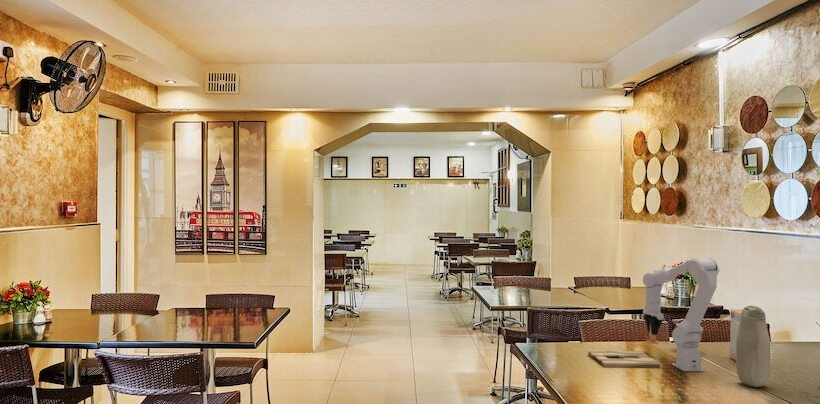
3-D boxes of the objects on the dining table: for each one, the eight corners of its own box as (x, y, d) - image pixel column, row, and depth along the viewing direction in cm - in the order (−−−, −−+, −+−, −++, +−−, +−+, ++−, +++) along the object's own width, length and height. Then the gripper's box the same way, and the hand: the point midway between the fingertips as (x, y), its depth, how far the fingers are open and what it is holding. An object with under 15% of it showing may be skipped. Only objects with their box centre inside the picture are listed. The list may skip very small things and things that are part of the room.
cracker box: (759, 368, 219) (759, 315, 219) (742, 367, 220) (742, 314, 220) (745, 359, 232) (745, 309, 233) (729, 358, 234) (729, 308, 234)
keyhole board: (660, 368, 216) (660, 362, 216) (604, 367, 216) (604, 362, 216) (639, 356, 234) (639, 351, 234) (588, 355, 234) (588, 350, 234)
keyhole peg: (661, 343, 231) (661, 322, 231) (649, 343, 231) (649, 322, 231) (655, 341, 236) (655, 319, 236) (644, 340, 236) (644, 319, 236)
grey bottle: (774, 391, 190) (775, 309, 190) (742, 388, 192) (742, 307, 192) (762, 382, 199) (763, 304, 200) (731, 380, 202) (732, 303, 202)
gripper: (636, 298, 241) (636, 330, 241) (651, 304, 226) (651, 337, 226) (652, 299, 241) (652, 330, 241) (668, 304, 226) (668, 337, 226)
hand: (652, 333), depth 233 cm, fingers closed on keyhole peg, 2 cm apart
